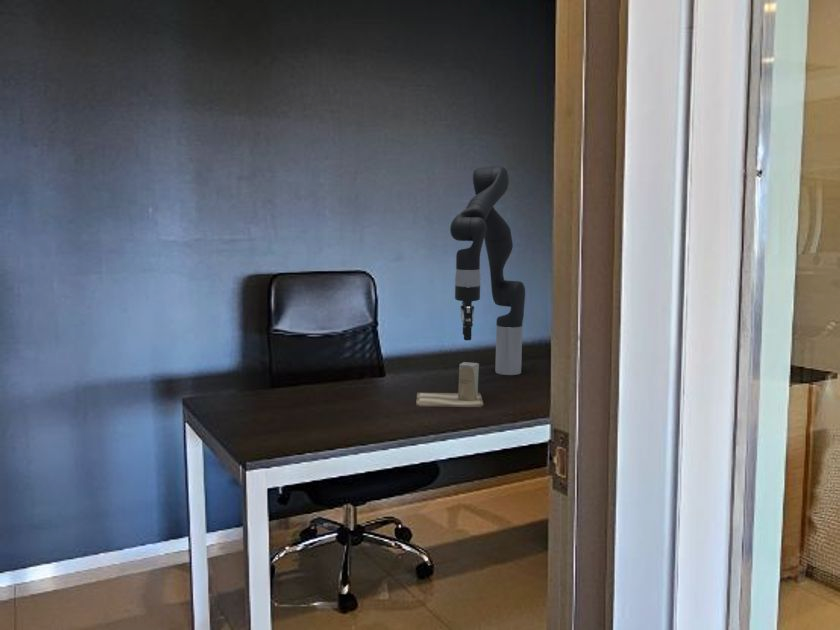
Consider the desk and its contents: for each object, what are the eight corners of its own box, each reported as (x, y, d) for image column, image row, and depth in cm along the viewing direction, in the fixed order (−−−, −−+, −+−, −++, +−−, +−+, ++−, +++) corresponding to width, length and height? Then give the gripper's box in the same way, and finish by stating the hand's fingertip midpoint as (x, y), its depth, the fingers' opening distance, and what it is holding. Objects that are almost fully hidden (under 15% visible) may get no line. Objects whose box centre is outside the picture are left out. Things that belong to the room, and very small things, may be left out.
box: (457, 399, 225) (458, 364, 223) (462, 396, 229) (463, 361, 227) (473, 401, 223) (474, 365, 221) (478, 398, 227) (479, 363, 225)
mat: (417, 394, 233) (417, 392, 233) (480, 395, 233) (480, 393, 233) (416, 406, 219) (416, 404, 219) (483, 407, 219) (483, 405, 219)
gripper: (454, 281, 228) (453, 333, 230) (455, 286, 214) (455, 341, 216) (478, 281, 228) (477, 333, 230) (481, 287, 214) (480, 342, 216)
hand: (466, 337), depth 223 cm, fingers open, 8 cm apart
